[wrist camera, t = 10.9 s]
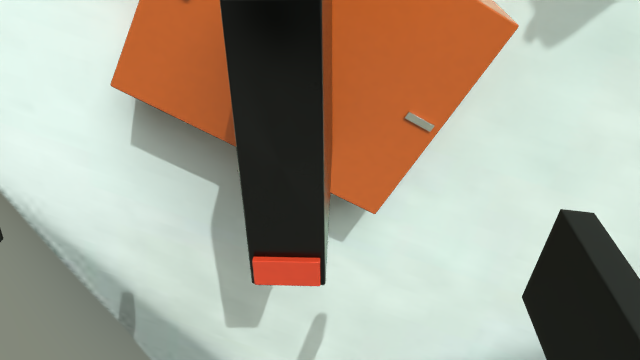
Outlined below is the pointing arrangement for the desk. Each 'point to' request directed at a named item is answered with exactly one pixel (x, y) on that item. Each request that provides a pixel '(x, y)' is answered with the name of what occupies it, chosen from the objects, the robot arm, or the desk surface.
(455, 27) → the orange box
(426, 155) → the desk surface
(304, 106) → the black slab
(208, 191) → the desk surface
